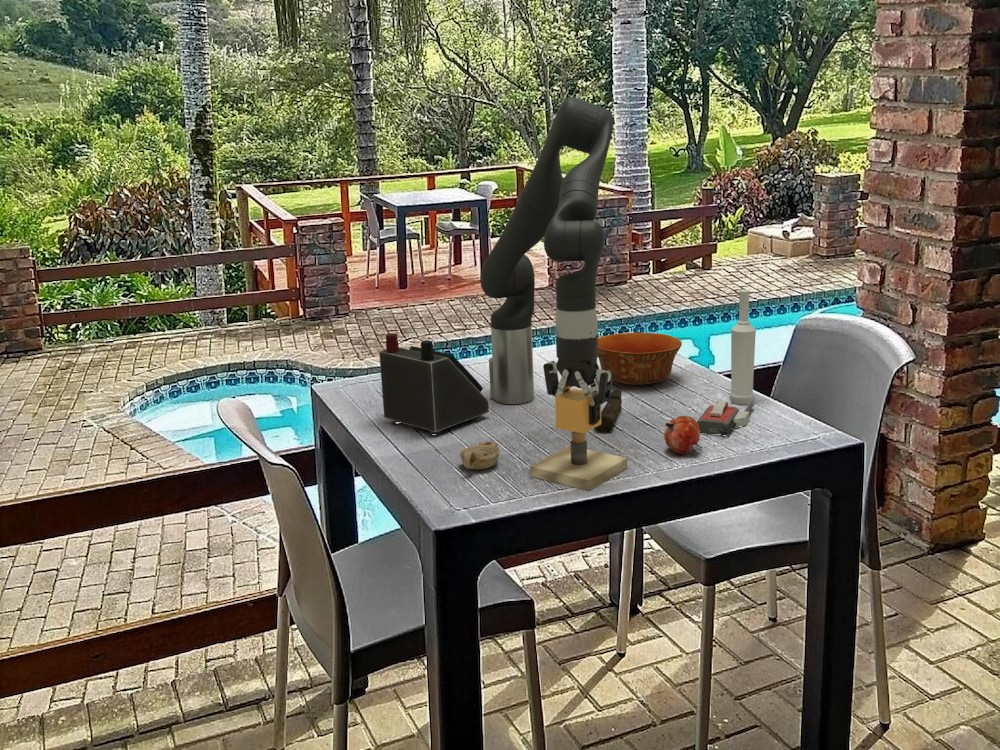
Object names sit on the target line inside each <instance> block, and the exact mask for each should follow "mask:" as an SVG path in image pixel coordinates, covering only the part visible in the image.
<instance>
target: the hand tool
mask: <svg viewBox="0 0 1000 750" xmlns="http://www.w3.org/2000/svg"><path fill="white" fill-rule="evenodd" d="M622 403H623V399H622V391H621V389H620V388H616V389H612V390H611V396H610V400H609V401H607V402H606V404H605V405H604V407H603V408H602V409H601V425H599V426H597V427H595V428H593V429H594V431H595V432H596V433H600V434H601V433H603V434H609V433H611V432H613V427H614V424H615V422H616V420H617V417H618V415H619V414H621V413H622Z"/></svg>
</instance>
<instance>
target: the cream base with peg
mask: <svg viewBox="0 0 1000 750" xmlns="http://www.w3.org/2000/svg"><path fill="white" fill-rule="evenodd" d="M587 442H588V441H587V440H586V433H584V434H583V433H578V432H573V431H571V440H570V445H568V446H566V447H564V448H562V449H560V450H559V451H557V452H555V453H553V454H551V455H549V456H547V457H546V458H543V459H541V460H540V461H537V462H535V463H533V464H532V465H530V467H529V469H530V470H529V471H530V472H529V473H530V475H529V476H530V477H532V478H535V479H539V480H542V481H543V480H544V481H548V482H551V483H552V482H553V483H555V484H561V485H565V486H568V487H571V488H572V487H573V488H577V489H581V490H584V491H591V490H593V489H595V488H596V487H598V486H600V485H601V484H603V483H605V482H607V481H609V480H610V479H611V478H614V477H615V476H617V475H618V474H620V473H622V472H623V471H625V470H627V469H628V457H624V456H619V455H615V454H610V453H605V452H601V451H596V450H594V449H593V450H592V449H588V445H587V444H588V443H587Z"/></svg>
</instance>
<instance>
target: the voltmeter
mask: <svg viewBox="0 0 1000 750" xmlns="http://www.w3.org/2000/svg"><path fill="white" fill-rule="evenodd" d="M385 346H386V348H385V349H383V350H379V351H378V352H379V353H378V354H379V366H380V377H381V378H380V379H381V391H382V392H381V394H382V406H383V418H384V419H388V420H391V421H392V422H393V423H394V422H401V423H402V424H405V425H408V426H412V427H416V428H420V429H423V430H426V431H429V432H430V434H431V433H432V434H440V433H441V434H442V430H445V429H448V428H451V427H453V426H456V425H459V424H461V423H464V422H466V421H469V420H471V419H472V420H471V421H479V420H480V419H481V416H482V415H486V414H488V413H490V401H489V400H488V399H487V397H485V396H484V394H483V393H482V391H483V389H484V387H483V386H482V385H481V384H480V383H479V381H478V380H477V379H476V378H475V377H474V376H473V375H472V373H470V371H468V369H467V368H466V367H465V366H464V365H463V364H462V363H461V362H460V361H459V360H458V359H457V358H456V357H455V356H454V355H453V354H451V353H446V352H443V351H439V350H438V351H437V350H434V346H433V340H422V341H420V347H418V346H413V345H412V346H410V347H409V348H403V347H400V345H399V340H398V333H387V334H386V335H385ZM478 419H479V420H478ZM441 434H440V435H441Z"/></svg>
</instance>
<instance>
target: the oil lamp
mask: <svg viewBox="0 0 1000 750" xmlns="http://www.w3.org/2000/svg"><path fill="white" fill-rule="evenodd" d="M459 456H460V459H461V462H462V464H463V466H464V468H466V469H470V470H472V471H473V470H474V471H479V470H486V469H489V468H492V467H494V465H495V464H496V463H497V462H498V459H499V456H500V447H499V444H498V443H497V442H494V441H483V442H482V441H481V442H479V445H471V446H470V447H467V448H463V449H462V450H460V452H459Z"/></svg>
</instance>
